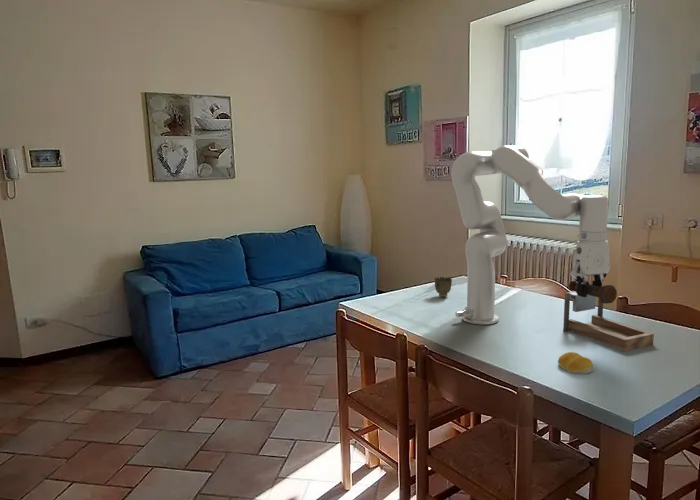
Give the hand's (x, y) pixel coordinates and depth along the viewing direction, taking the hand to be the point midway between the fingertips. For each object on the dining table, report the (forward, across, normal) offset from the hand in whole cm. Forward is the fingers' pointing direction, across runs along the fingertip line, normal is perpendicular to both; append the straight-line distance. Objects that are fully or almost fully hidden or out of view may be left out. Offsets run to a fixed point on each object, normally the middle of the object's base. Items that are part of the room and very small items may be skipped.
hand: (589, 294), depth 157 cm
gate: (+9, +10, +11) cm, 17 cm away
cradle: (+15, +10, +1) cm, 18 cm away
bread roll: (+16, -18, -14) cm, 27 cm away
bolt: (+1, 0, 0) cm, 1 cm away
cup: (+16, -12, +66) cm, 69 cm away
